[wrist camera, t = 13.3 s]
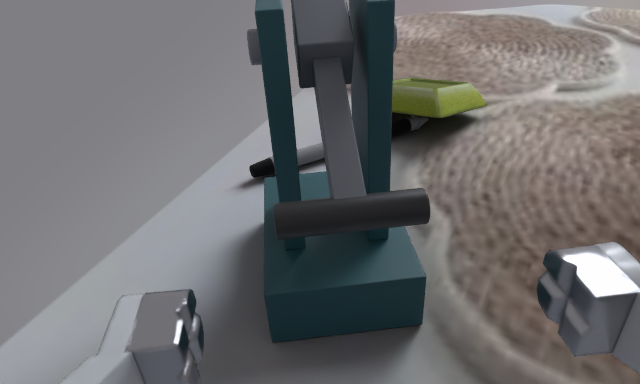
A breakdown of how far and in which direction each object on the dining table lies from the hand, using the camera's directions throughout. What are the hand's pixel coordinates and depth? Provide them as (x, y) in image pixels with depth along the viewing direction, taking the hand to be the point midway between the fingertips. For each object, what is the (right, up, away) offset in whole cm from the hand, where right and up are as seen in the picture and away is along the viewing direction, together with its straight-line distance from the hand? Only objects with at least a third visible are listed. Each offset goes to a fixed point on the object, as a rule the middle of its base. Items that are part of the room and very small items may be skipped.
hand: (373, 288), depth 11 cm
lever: (-1, +5, +8) cm, 9 cm away
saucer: (+7, +12, +29) cm, 32 cm away
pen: (-6, +4, +26) cm, 27 cm away
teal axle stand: (0, -2, +15) cm, 15 cm away
